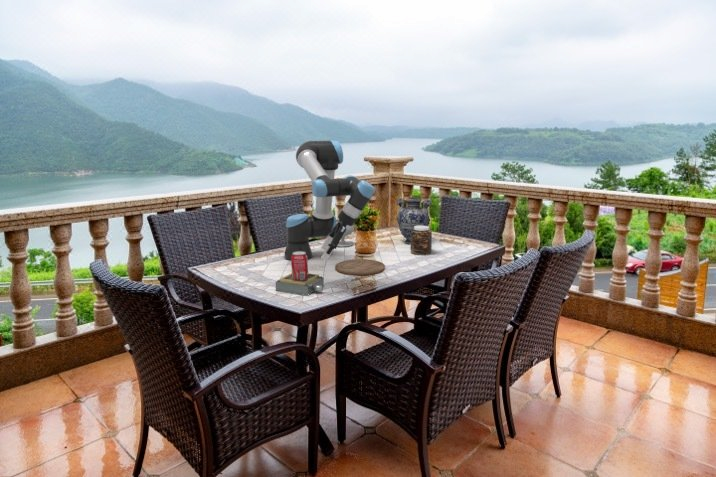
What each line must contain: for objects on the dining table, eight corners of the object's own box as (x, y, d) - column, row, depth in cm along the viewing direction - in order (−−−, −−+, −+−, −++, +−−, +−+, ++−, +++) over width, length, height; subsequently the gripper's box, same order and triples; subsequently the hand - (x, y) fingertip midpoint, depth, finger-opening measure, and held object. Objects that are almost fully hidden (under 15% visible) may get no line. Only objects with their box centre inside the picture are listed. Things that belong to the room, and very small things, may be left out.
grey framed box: (275, 290, 205) (275, 279, 204) (293, 281, 218) (293, 270, 217) (316, 296, 197) (315, 285, 196) (331, 287, 210) (331, 275, 208)
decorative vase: (392, 244, 287) (393, 198, 282) (398, 238, 305) (400, 195, 299) (427, 247, 281) (429, 200, 276) (432, 241, 299) (434, 196, 293)
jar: (430, 250, 274) (431, 224, 271) (431, 255, 263) (432, 229, 259) (410, 250, 275) (410, 224, 272) (410, 255, 264) (411, 228, 261)
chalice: (332, 242, 295) (331, 218, 292) (354, 242, 295) (354, 218, 292) (330, 247, 282) (329, 222, 278) (353, 247, 281) (353, 222, 278)
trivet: (393, 266, 243) (393, 263, 242) (369, 279, 222) (369, 275, 221) (351, 260, 255) (351, 256, 255) (325, 271, 234) (325, 268, 234)
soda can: (300, 276, 212) (299, 250, 210) (311, 279, 208) (310, 252, 205) (288, 279, 207) (287, 253, 204) (299, 282, 203) (298, 255, 200)
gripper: (358, 226, 193) (331, 268, 198) (355, 211, 217) (330, 249, 221) (343, 217, 191) (315, 259, 196) (341, 203, 215) (316, 241, 220)
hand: (323, 254), depth 209 cm, fingers open, 13 cm apart
